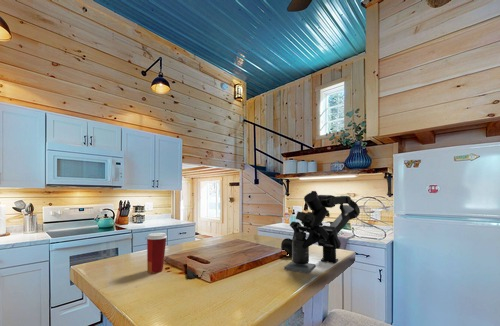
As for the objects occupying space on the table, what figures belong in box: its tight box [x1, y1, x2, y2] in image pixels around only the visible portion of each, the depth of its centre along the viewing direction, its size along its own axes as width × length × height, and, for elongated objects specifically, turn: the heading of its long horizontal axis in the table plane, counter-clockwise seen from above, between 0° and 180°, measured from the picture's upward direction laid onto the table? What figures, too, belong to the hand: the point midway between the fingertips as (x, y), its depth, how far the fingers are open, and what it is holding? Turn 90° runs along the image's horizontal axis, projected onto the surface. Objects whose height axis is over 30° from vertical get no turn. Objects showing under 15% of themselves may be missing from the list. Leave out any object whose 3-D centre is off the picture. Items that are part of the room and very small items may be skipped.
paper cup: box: [145, 232, 168, 274], centre depth 96 cm, size 8×8×14 cm
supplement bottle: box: [291, 231, 310, 264], centre depth 102 cm, size 7×7×12 cm
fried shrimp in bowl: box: [280, 237, 293, 257], centre depth 123 cm, size 9×11×18 cm
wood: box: [186, 258, 201, 280], centre depth 98 cm, size 22×7×3 cm, turn 16°
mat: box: [283, 260, 317, 275], centre depth 101 cm, size 10×10×1 cm
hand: (297, 246), depth 102 cm, fingers closed on supplement bottle, 7 cm apart
